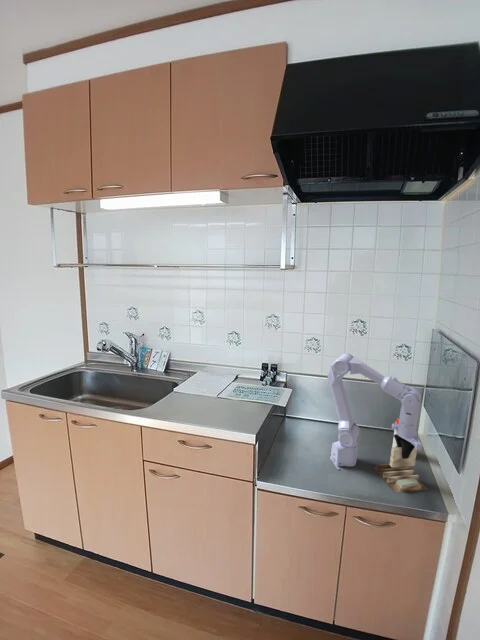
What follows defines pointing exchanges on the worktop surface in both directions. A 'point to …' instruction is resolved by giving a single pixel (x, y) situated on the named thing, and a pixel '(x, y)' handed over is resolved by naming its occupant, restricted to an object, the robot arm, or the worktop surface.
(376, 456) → the worktop surface
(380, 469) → the rack
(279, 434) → the worktop surface
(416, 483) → the offcut top
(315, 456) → the worktop surface
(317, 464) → the worktop surface
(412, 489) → the block
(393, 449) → the tan wooden block
